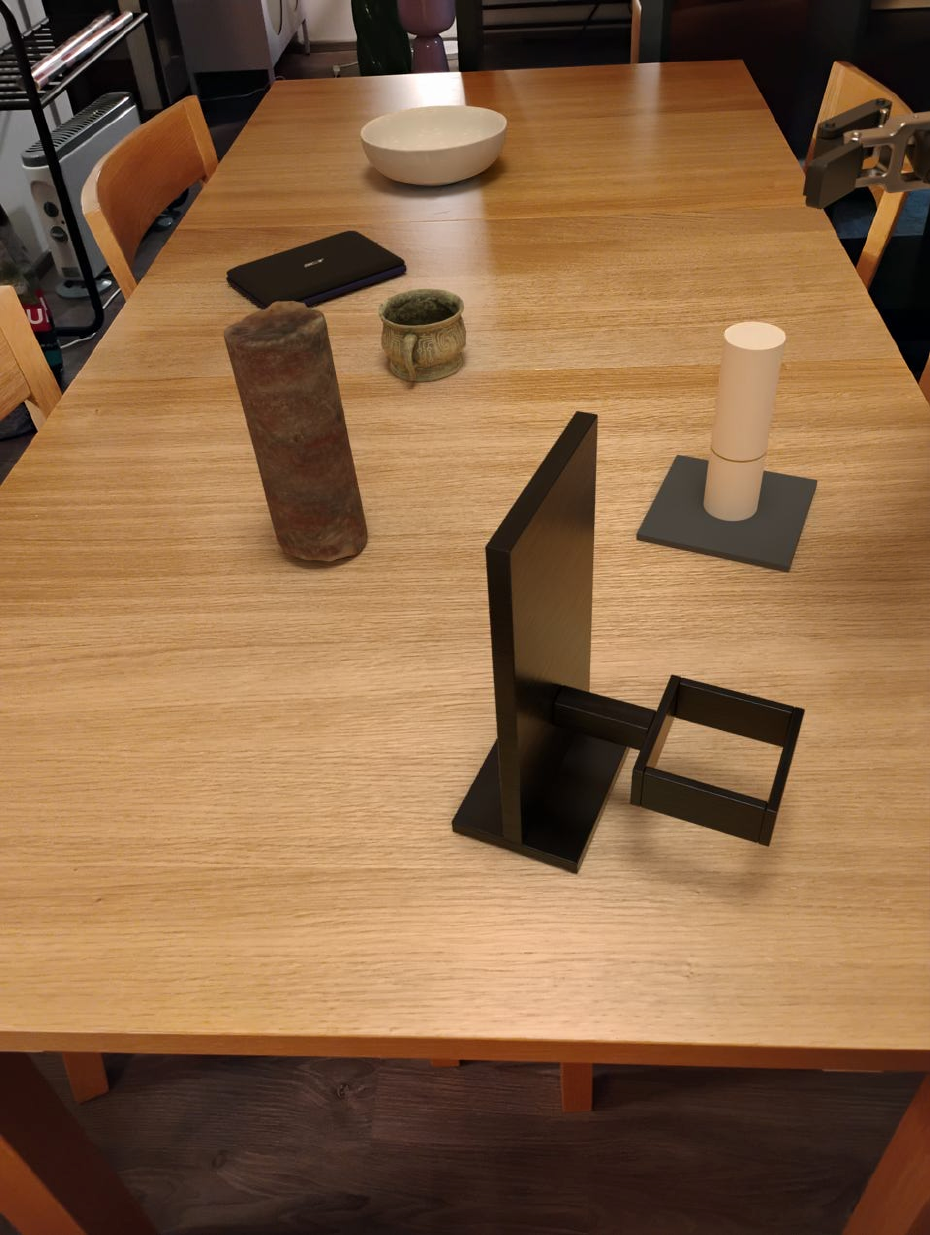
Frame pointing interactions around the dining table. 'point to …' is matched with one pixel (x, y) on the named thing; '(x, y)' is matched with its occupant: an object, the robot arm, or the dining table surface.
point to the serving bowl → (434, 143)
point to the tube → (743, 418)
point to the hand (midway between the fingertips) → (898, 206)
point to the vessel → (423, 333)
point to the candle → (298, 430)
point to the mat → (749, 541)
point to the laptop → (316, 270)
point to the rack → (587, 691)
